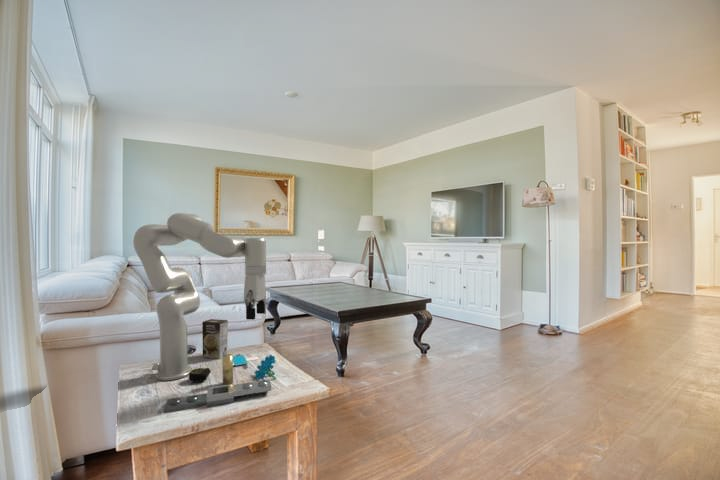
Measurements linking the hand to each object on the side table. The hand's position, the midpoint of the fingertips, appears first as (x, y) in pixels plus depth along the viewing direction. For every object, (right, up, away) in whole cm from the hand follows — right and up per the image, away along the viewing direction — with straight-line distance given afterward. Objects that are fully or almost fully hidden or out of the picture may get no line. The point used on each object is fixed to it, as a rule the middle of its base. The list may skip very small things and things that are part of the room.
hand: (255, 316), depth 130 cm
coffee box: (-27, -25, +28) cm, 46 cm away
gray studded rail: (-7, -24, -15) cm, 29 cm away
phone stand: (-12, -25, +21) cm, 35 cm away
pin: (-10, -24, -2) cm, 26 cm away
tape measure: (-21, -25, +1) cm, 32 cm away
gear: (+3, -24, +3) cm, 25 cm away
